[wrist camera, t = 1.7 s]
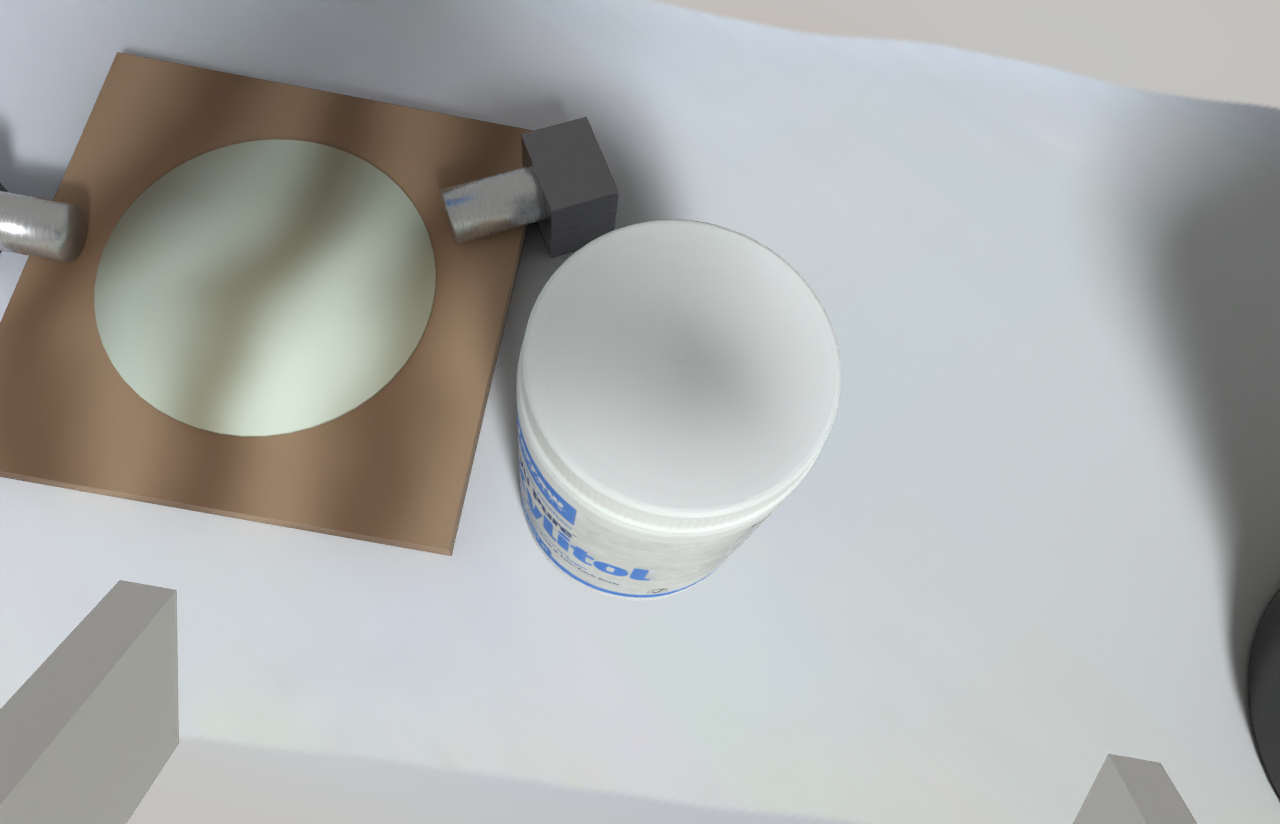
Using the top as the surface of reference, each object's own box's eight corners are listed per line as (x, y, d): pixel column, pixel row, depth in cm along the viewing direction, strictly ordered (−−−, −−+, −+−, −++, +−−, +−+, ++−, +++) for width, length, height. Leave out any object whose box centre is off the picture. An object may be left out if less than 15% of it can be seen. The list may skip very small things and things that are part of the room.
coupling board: (545, 148, 47) (545, 128, 45) (451, 556, 40) (447, 548, 38) (127, 69, 46) (114, 47, 45) (-42, 469, 39) (-64, 458, 38)
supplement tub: (480, 539, 40) (444, 422, 26) (584, 352, 43) (602, 159, 30) (692, 647, 39) (770, 583, 26) (782, 447, 43) (895, 296, 29)
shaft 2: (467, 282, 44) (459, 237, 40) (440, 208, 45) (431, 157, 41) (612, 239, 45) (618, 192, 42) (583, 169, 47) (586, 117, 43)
